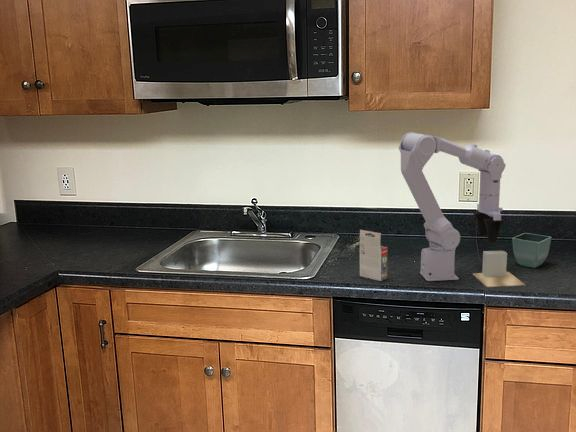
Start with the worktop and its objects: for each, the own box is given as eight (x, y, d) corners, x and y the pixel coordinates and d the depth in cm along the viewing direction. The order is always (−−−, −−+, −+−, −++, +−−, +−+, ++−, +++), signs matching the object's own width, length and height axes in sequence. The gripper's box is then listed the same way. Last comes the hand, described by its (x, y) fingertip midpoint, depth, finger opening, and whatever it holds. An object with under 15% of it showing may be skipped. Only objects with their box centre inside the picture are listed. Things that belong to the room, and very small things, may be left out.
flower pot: (509, 265, 203) (511, 237, 201) (523, 259, 209) (524, 232, 207) (537, 271, 197) (539, 242, 195) (550, 264, 203) (552, 236, 201)
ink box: (366, 273, 199) (366, 226, 196) (388, 278, 194) (388, 230, 191) (359, 276, 197) (358, 229, 194) (380, 282, 191) (381, 233, 188)
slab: (485, 277, 192) (486, 254, 190) (482, 274, 195) (483, 251, 193) (505, 276, 192) (507, 253, 191) (502, 273, 195) (503, 250, 194)
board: (486, 287, 184) (487, 286, 184) (472, 274, 196) (472, 273, 196) (525, 285, 185) (525, 284, 185) (508, 272, 196) (508, 271, 196)
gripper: (512, 198, 187) (510, 244, 190) (493, 189, 202) (492, 232, 205) (487, 199, 187) (486, 245, 190) (471, 190, 201) (469, 233, 204)
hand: (487, 238), depth 197 cm, fingers open, 7 cm apart
